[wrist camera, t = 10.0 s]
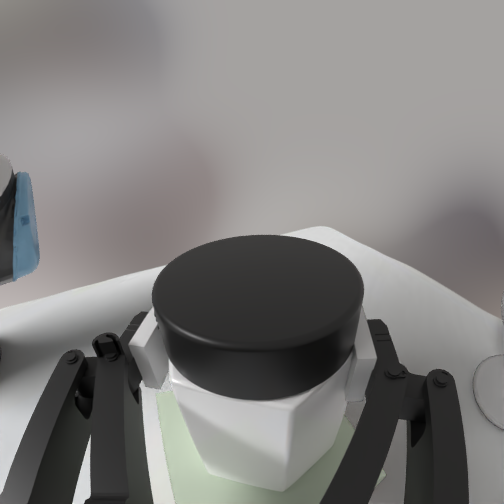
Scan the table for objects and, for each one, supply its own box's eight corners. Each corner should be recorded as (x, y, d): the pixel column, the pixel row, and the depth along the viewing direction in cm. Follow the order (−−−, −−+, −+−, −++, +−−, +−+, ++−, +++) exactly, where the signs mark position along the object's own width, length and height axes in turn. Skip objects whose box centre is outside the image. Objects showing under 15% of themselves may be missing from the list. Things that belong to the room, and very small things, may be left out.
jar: (268, 369, 22) (264, 220, 17) (354, 425, 16) (402, 264, 11) (171, 432, 17) (110, 277, 11) (255, 517, 11) (235, 406, 6)
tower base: (174, 432, 22) (155, 393, 20) (300, 400, 25) (304, 357, 23) (206, 552, 12) (186, 543, 9) (362, 501, 15) (386, 474, 12)
